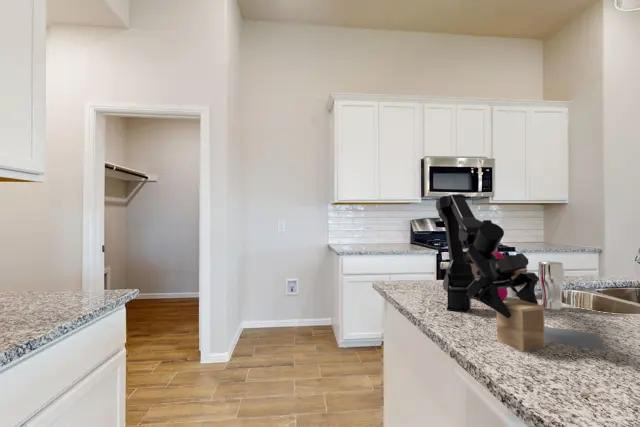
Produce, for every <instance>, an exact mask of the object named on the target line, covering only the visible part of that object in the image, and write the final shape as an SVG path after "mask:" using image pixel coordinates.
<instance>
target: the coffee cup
mask: <svg viewBox="0 0 640 427" xmlns="http://www.w3.org/2000/svg"><path fill="white" fill-rule="evenodd" d="M513 255H514V254H508V255H504V258H505V257H508V256H513ZM526 267H527V268H528V265H526ZM527 268H525V269H523V268H522V269H520V270H517V271H515V272H516V274H515V275H514V276H512V277H511V278H512V279H515V278H516V277H517V276H518V275H519V274H520V273H526V272H528V269H527ZM507 292H508V295H507V296H509V297H514V298H518V297H517V296H516V295H515V294H516V292H514V291H513V290H512V289H511V287H510V288H507Z"/></svg>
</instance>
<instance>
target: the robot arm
mask: <svg viewBox="0 0 640 427" xmlns="http://www.w3.org/2000/svg"><path fill="white" fill-rule="evenodd" d="M466 199H467V198H466V195H465V194H462V193H457V194H456V193H455V194H454V193H451V194H449V195H447V196H443V197H439V198H438V199H437V200H436V201H435V209H436V211H437V213H438V217H439V218H440V219H441V220H442V222H444V229H445V235H446V244H447V251H448V257H449V264H448V265H447V267H446V270H445V275H444V278H443V281H442V289H443V291H446V294H447V295H446V296H447V307H446V310H447V311H452V312H453V311H454V312H460V313H462V312H463V313H468V312H469V311H470V310H471V308H472V299H474V298H475V301H477V302H480V303H482V304H484V305H486V306H488V307H489V308H491V309H492V310H494V311H496V313H497V312H499V313H500V314H502V315H503V316H505V317H506V318H510V317H511V314H510V312H509V310H508V309H507V307H506V306H505V304H504V302H503V301H502V299H501V298H500V296H499V294H498V289H501V288H510V287H511V289H512V290H513V291H514V292H516V294H515V295H516V296H517V297H516V298H517V299H519V300H523V301H527V302H531V303H534V304H538V305H539V302H538V299H537V297H536V293H535V287H536V286H537V285H538V282H539V277H538V275H537V274H536V273H535V272H531V271H527V272H526V273H520V274H519V275H518V276H517V277H516V278H515V279H512V278H511V277H512V276H514V275H515V274H516V272H515V271H517V270H520V269H522V268H523V269H525V268H528V265H529V263H530V262H529V258H528V257H527V256H526V255H525V254H523V253H521V252H520V253H516V254H512V255H513V256H508V257H505V258H503V259H502V258H501V259H498V258H497V257H496V256H495V254H494V253H493V252H494V251H496V249H498V247H499V245H500V243H501V241H502V239H503V237H504V235H505V231H504V229H503V228H502V227H501V226H500V225H498V224H496V223H493V222H492V220H491V219H486V220H485V219H484V220H479V219H477V218H476V217H475V215H474V214H473V211H472V209H471V207H470V206H469V203H468V202H467V200H466ZM463 246H469V248H467V249H468V250H467V255H466V258H467V260H470V259H471V260H472V261H473V263H474V264H475V266H476V267H477V269H478V271H477V272H476V273H477V275H478V276H480V277H476V278H475V277H474V274H473V273H472V266H471V265H470V263H467V262H466V261H465V259H464V253H463V249H464V248H463ZM526 265H527V267H526Z"/></svg>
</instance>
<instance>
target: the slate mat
mask: <svg viewBox="0 0 640 427" xmlns="http://www.w3.org/2000/svg"><path fill="white" fill-rule="evenodd" d="M544 327H545V342H549V343H556V344H562V345H567V346H568V345H569V346H572V347H573V346H574V347H581V348H587V349H594V350H600V351H607V349H606V347H605V345H604V343H603V340H602V338H601V336H600V334H599V333H593V332H585V331H580V330H571V329H563V328H557V327H550V326H544Z"/></svg>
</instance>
